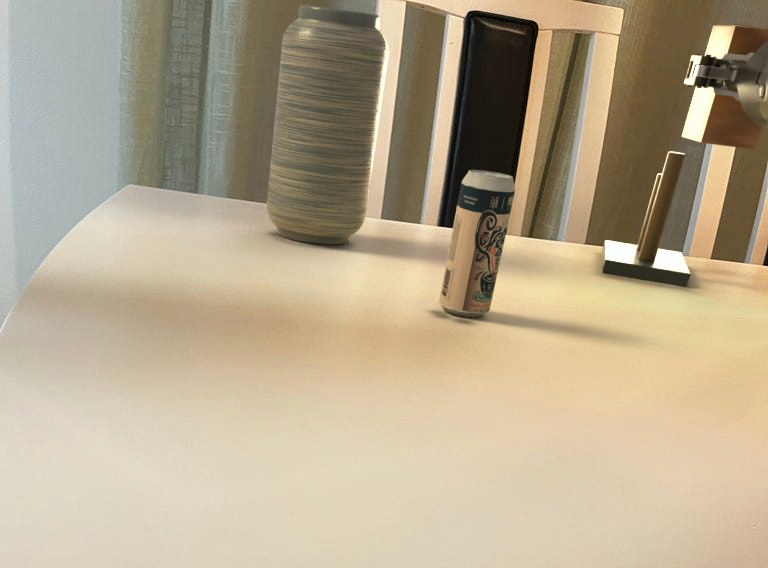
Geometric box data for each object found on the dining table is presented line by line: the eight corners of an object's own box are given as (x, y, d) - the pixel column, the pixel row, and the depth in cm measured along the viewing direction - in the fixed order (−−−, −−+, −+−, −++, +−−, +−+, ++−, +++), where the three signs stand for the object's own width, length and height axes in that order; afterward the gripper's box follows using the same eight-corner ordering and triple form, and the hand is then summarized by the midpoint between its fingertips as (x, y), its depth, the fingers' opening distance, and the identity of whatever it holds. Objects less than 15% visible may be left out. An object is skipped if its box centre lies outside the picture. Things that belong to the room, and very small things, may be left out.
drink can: (476, 321, 92) (506, 180, 86) (429, 310, 94) (455, 170, 88) (495, 314, 96) (525, 177, 89) (450, 302, 98) (476, 168, 91)
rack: (678, 264, 133) (712, 152, 126) (686, 287, 119) (725, 162, 112) (602, 251, 134) (631, 140, 127) (602, 272, 121) (634, 149, 114)
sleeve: (732, 143, 105) (767, 32, 100) (754, 149, 100) (792, 33, 95) (681, 137, 104) (713, 25, 99) (700, 142, 100) (735, 25, 94)
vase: (306, 249, 112) (335, 8, 100) (244, 227, 119) (264, -1, 107) (381, 246, 119) (416, 20, 107) (318, 225, 126) (344, 11, 114)
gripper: (900, 44, 85) (809, 40, 100) (738, 22, 84) (670, 22, 99) (864, 142, 89) (781, 125, 104) (708, 122, 88) (647, 107, 103)
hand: (727, 74), depth 101 cm, fingers closed on sleeve, 5 cm apart
